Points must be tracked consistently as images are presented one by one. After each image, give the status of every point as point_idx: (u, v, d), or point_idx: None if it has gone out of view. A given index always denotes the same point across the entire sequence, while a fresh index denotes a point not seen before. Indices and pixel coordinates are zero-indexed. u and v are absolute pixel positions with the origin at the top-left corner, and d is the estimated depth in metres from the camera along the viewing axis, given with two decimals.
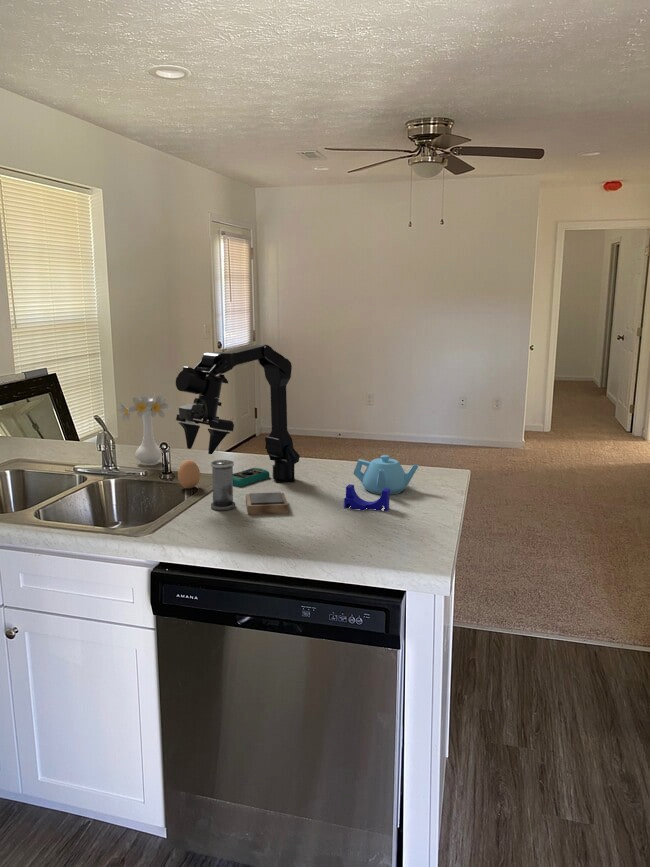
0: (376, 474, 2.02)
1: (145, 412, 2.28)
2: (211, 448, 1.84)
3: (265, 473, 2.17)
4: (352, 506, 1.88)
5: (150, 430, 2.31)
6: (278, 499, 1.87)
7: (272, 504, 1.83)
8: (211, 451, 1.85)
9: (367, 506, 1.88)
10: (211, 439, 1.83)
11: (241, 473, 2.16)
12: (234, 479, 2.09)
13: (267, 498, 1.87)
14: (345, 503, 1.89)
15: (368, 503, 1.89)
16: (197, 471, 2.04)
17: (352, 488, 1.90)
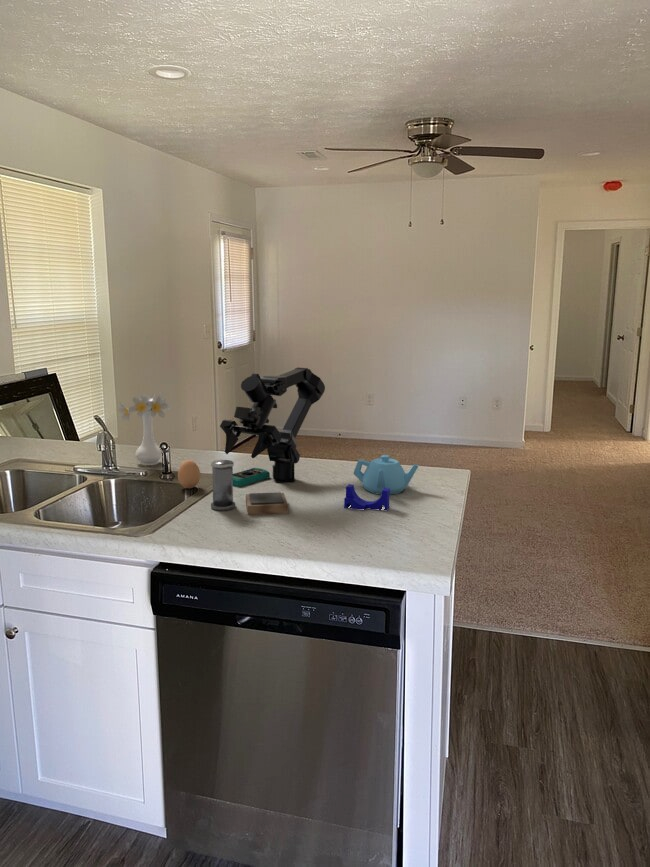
0: (376, 474, 2.02)
1: (145, 412, 2.28)
2: (255, 452, 1.91)
3: (265, 473, 2.17)
4: (352, 506, 1.88)
5: (150, 430, 2.31)
6: (278, 499, 1.87)
7: (272, 504, 1.83)
8: (254, 455, 1.91)
9: (367, 506, 1.89)
10: (258, 443, 1.91)
11: (241, 473, 2.16)
12: (234, 479, 2.09)
13: (267, 498, 1.87)
14: (345, 503, 1.89)
15: (368, 503, 1.90)
16: (197, 471, 2.04)
17: (352, 488, 1.90)
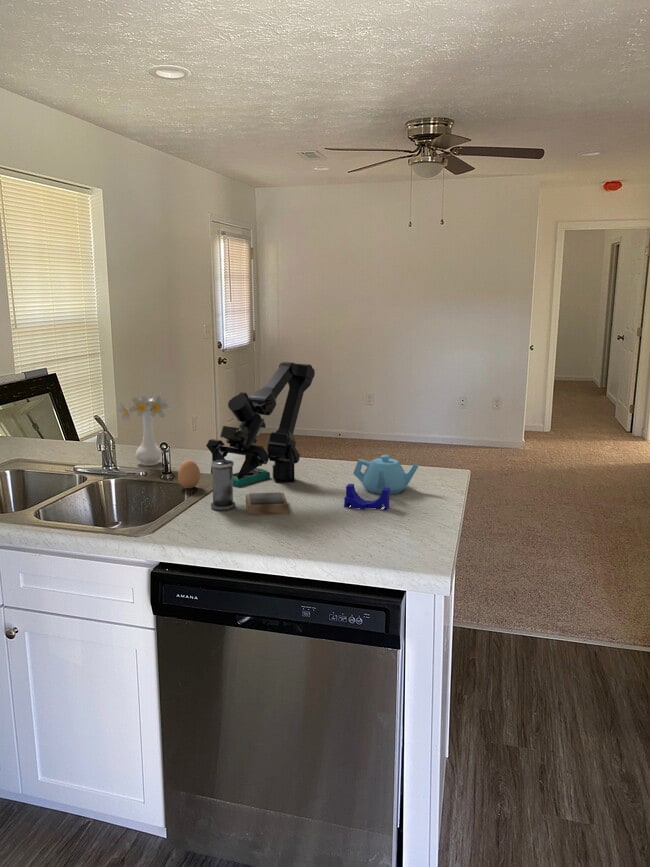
0: (376, 474, 2.02)
1: (145, 412, 2.28)
2: (242, 473, 1.86)
3: (265, 473, 2.17)
4: (352, 505, 1.89)
5: (150, 430, 2.31)
6: (278, 499, 1.87)
7: (272, 504, 1.83)
8: (240, 476, 1.86)
9: (367, 505, 1.89)
10: (245, 464, 1.86)
11: None
12: (233, 479, 2.09)
13: (267, 498, 1.87)
14: (345, 502, 1.89)
15: (368, 502, 1.90)
16: (197, 471, 2.04)
17: (352, 487, 1.91)
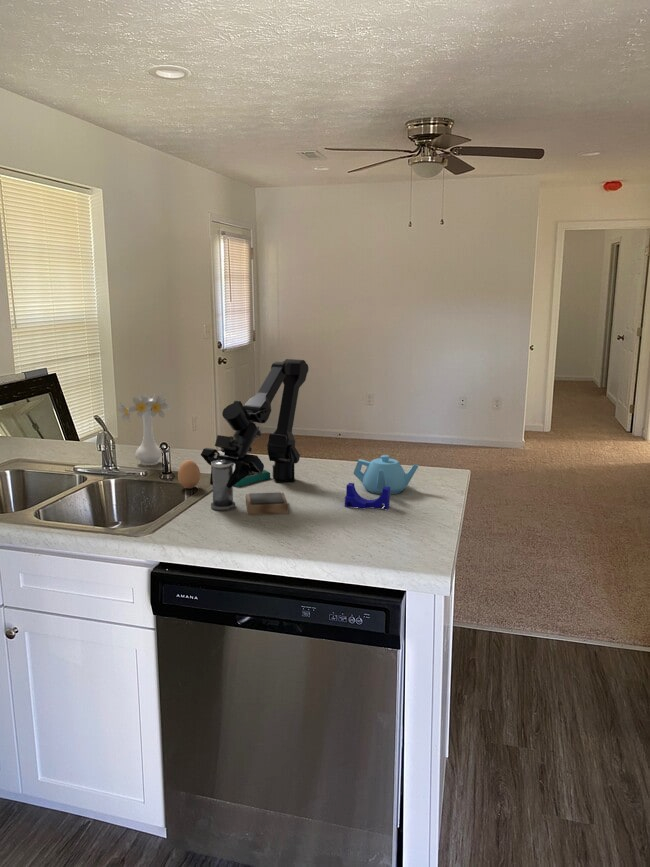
0: (376, 474, 2.02)
1: (145, 412, 2.28)
2: (232, 481, 1.85)
3: (265, 474, 2.17)
4: (353, 504, 1.89)
5: (150, 430, 2.31)
6: (278, 499, 1.87)
7: (272, 504, 1.83)
8: (230, 485, 1.85)
9: (368, 504, 1.90)
10: (235, 472, 1.85)
11: None
12: None
13: (267, 498, 1.87)
14: (346, 501, 1.90)
15: (368, 501, 1.91)
16: (197, 471, 2.04)
17: (352, 486, 1.91)
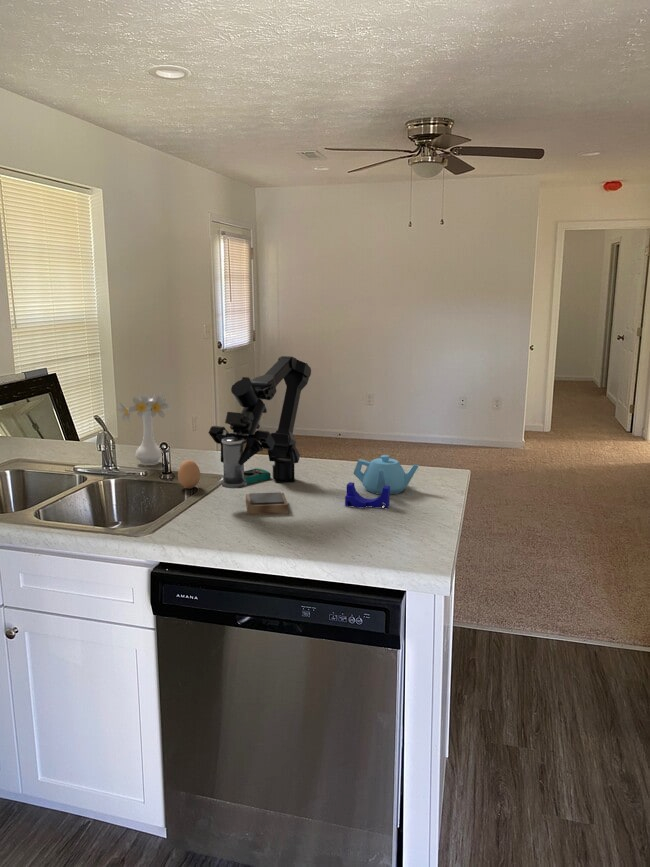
0: (376, 474, 2.02)
1: (145, 412, 2.28)
2: (244, 458, 1.83)
3: (266, 474, 2.16)
4: (353, 504, 1.90)
5: (150, 430, 2.31)
6: (278, 499, 1.87)
7: (272, 504, 1.83)
8: (242, 461, 1.83)
9: (368, 503, 1.90)
10: (246, 449, 1.84)
11: None
12: None
13: (267, 498, 1.87)
14: (346, 501, 1.91)
15: (369, 500, 1.91)
16: (197, 471, 2.04)
17: (353, 486, 1.92)
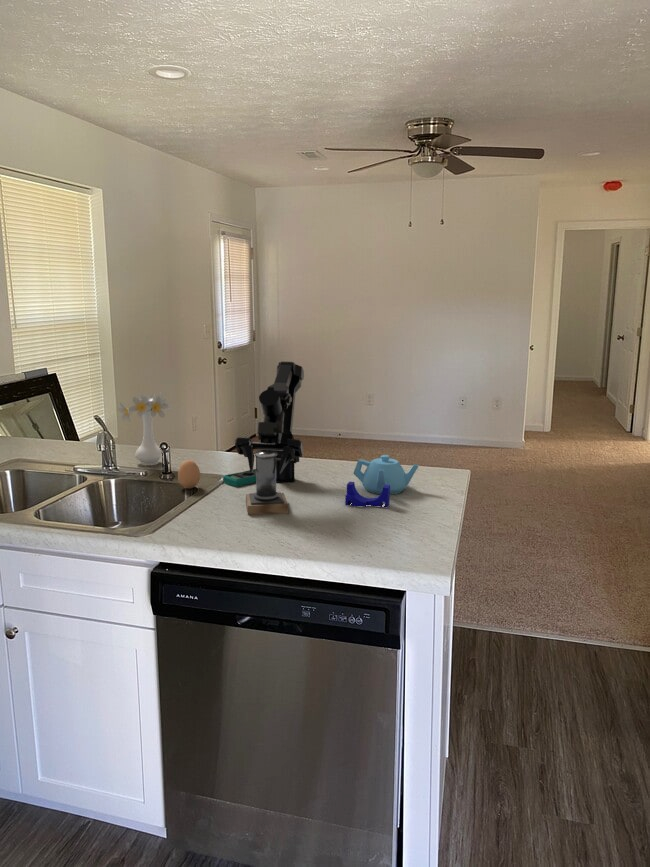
0: (376, 474, 2.02)
1: (145, 412, 2.28)
2: (282, 467, 1.85)
3: None
4: (353, 503, 1.91)
5: (150, 430, 2.31)
6: (278, 499, 1.87)
7: (272, 504, 1.83)
8: (281, 470, 1.85)
9: (368, 503, 1.91)
10: (283, 458, 1.85)
11: (242, 473, 2.16)
12: (231, 479, 2.09)
13: None
14: (346, 500, 1.91)
15: (369, 500, 1.92)
16: (197, 471, 2.04)
17: (353, 485, 1.93)
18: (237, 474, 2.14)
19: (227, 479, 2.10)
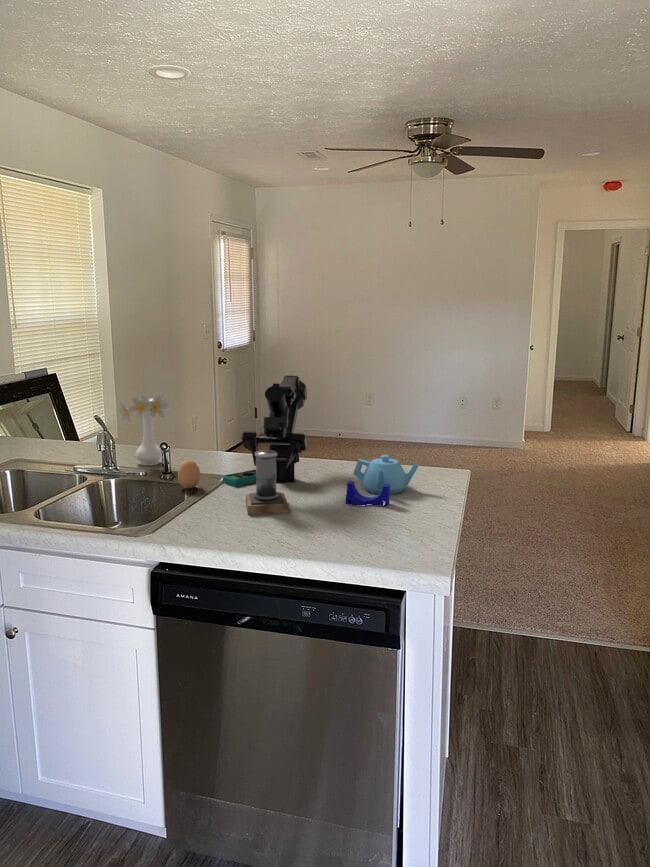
0: (376, 474, 2.02)
1: (145, 412, 2.28)
2: (289, 460, 1.92)
3: None
4: (354, 502, 1.92)
5: (150, 430, 2.31)
6: (278, 499, 1.87)
7: (272, 504, 1.83)
8: (288, 464, 1.92)
9: (368, 502, 1.92)
10: (290, 452, 1.93)
11: (242, 473, 2.15)
12: (231, 479, 2.09)
13: None
14: (346, 499, 1.92)
15: (369, 499, 1.93)
16: (197, 471, 2.04)
17: (353, 484, 1.94)
18: (237, 474, 2.14)
19: (226, 479, 2.11)
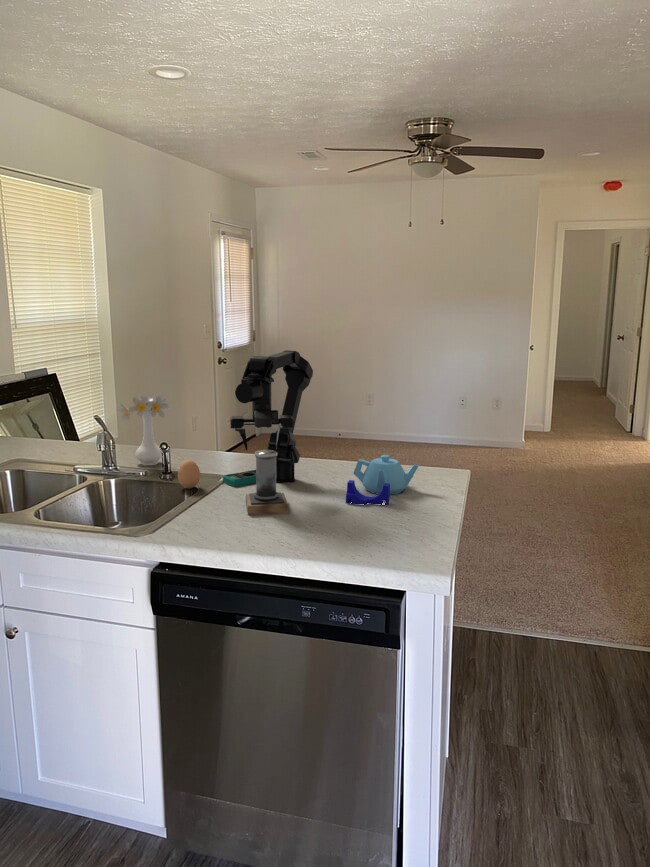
0: (376, 474, 2.02)
1: (145, 412, 2.28)
2: (279, 444, 2.01)
3: None
4: (354, 501, 1.92)
5: (150, 430, 2.31)
6: (278, 499, 1.87)
7: (272, 504, 1.83)
8: (278, 446, 2.02)
9: (368, 501, 1.93)
10: (280, 436, 2.00)
11: (242, 473, 2.15)
12: (230, 479, 2.09)
13: None
14: (347, 498, 1.93)
15: (369, 498, 1.94)
16: (197, 471, 2.04)
17: (353, 484, 1.94)
18: (237, 474, 2.14)
19: (226, 479, 2.11)
